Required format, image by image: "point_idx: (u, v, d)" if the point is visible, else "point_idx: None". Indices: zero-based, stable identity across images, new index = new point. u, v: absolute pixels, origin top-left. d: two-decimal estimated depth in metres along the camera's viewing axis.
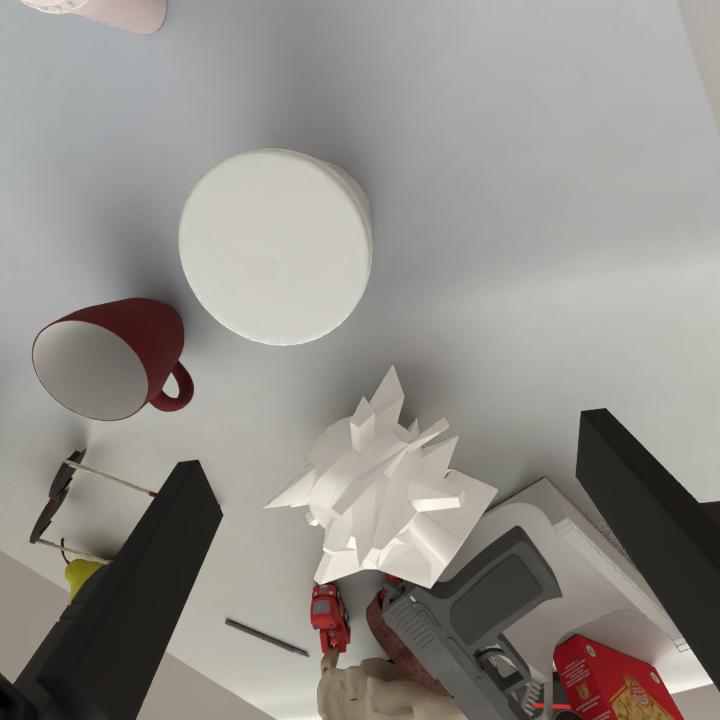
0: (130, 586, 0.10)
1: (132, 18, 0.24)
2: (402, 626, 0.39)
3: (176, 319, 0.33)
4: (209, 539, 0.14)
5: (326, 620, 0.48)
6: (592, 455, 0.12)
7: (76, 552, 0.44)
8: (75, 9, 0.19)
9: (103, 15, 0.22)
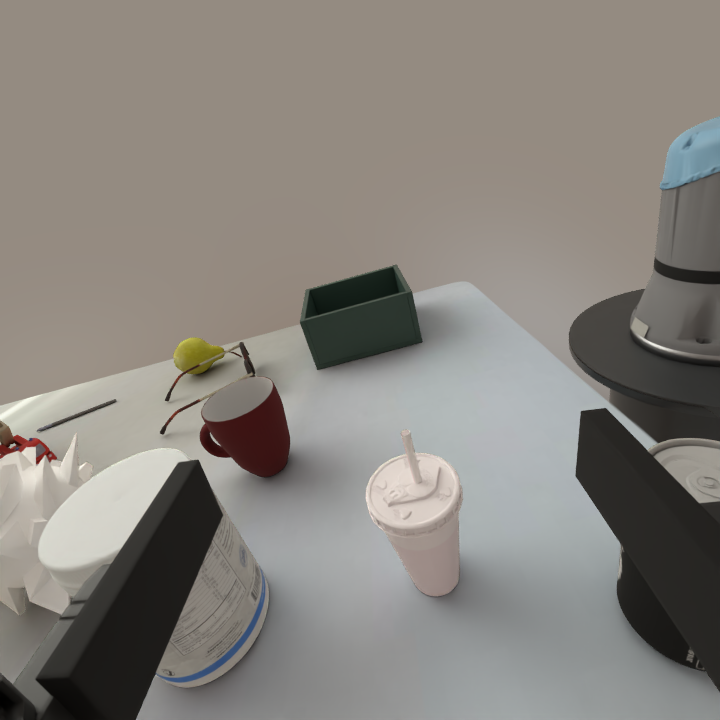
0: (130, 585, 0.10)
1: None
2: None
3: (252, 469, 0.42)
4: (209, 539, 0.14)
5: (24, 448, 0.57)
6: (592, 455, 0.12)
7: (218, 355, 0.69)
8: None
9: None
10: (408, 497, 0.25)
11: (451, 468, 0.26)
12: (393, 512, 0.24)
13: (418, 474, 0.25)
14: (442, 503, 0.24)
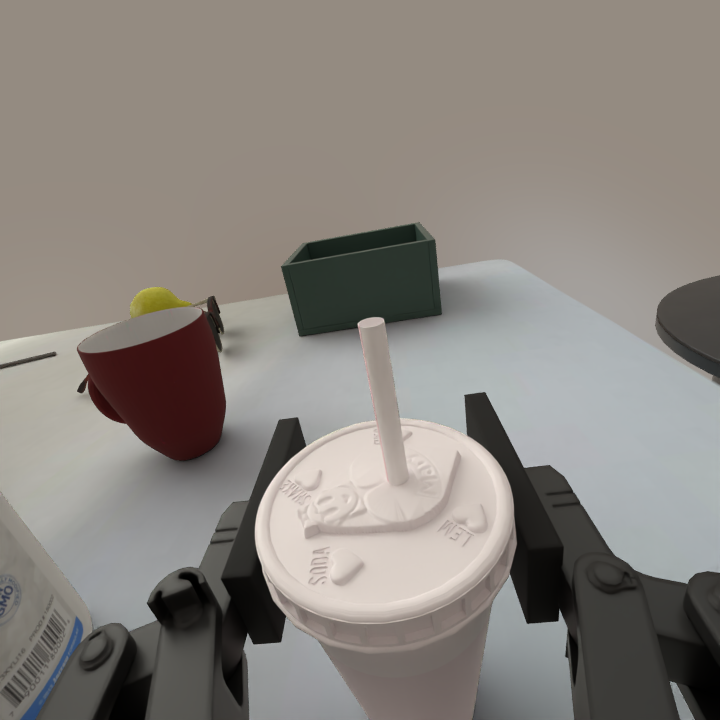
0: None
1: None
2: None
3: (153, 443, 0.27)
4: None
5: None
6: (471, 432, 0.14)
7: None
8: None
9: None
10: (363, 518, 0.09)
11: (487, 457, 0.10)
12: (312, 556, 0.08)
13: (399, 459, 0.09)
14: (458, 549, 0.08)
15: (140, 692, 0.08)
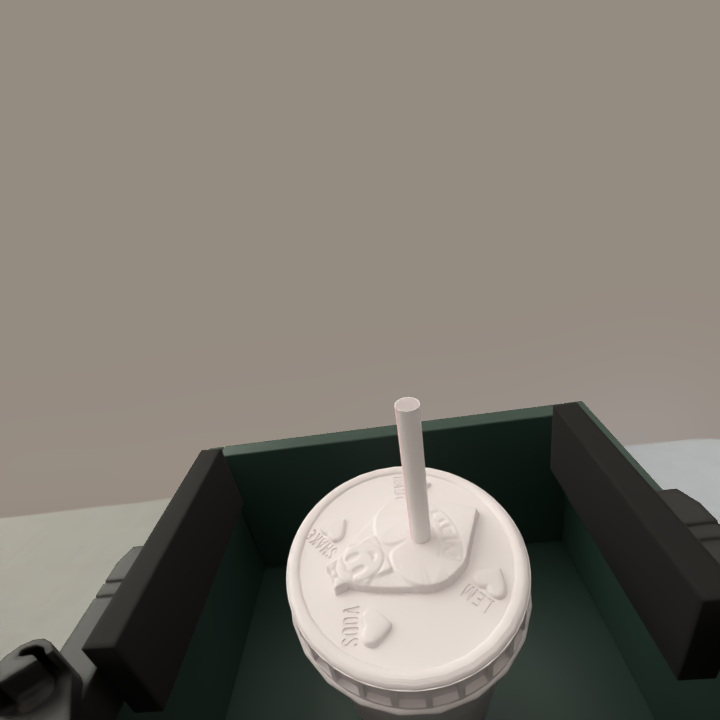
0: (165, 565, 0.10)
1: None
2: None
3: None
4: (231, 525, 0.14)
5: None
6: (563, 447, 0.13)
7: None
8: None
9: None
10: (390, 578, 0.10)
11: (504, 516, 0.11)
12: (344, 616, 0.09)
13: (424, 521, 0.10)
14: (481, 616, 0.09)
15: None
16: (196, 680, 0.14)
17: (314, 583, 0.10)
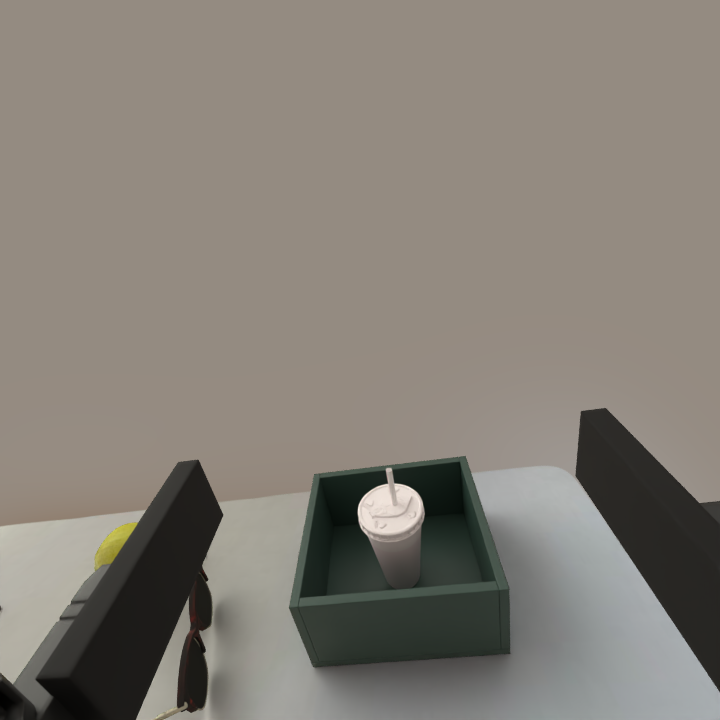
0: (131, 586, 0.10)
1: None
2: None
3: None
4: (209, 539, 0.14)
5: None
6: (592, 455, 0.12)
7: None
8: None
9: None
10: (386, 514, 0.36)
11: (419, 498, 0.38)
12: (374, 522, 0.36)
13: (395, 499, 0.37)
14: (408, 521, 0.35)
15: None
16: (321, 558, 0.41)
17: (366, 516, 0.37)
